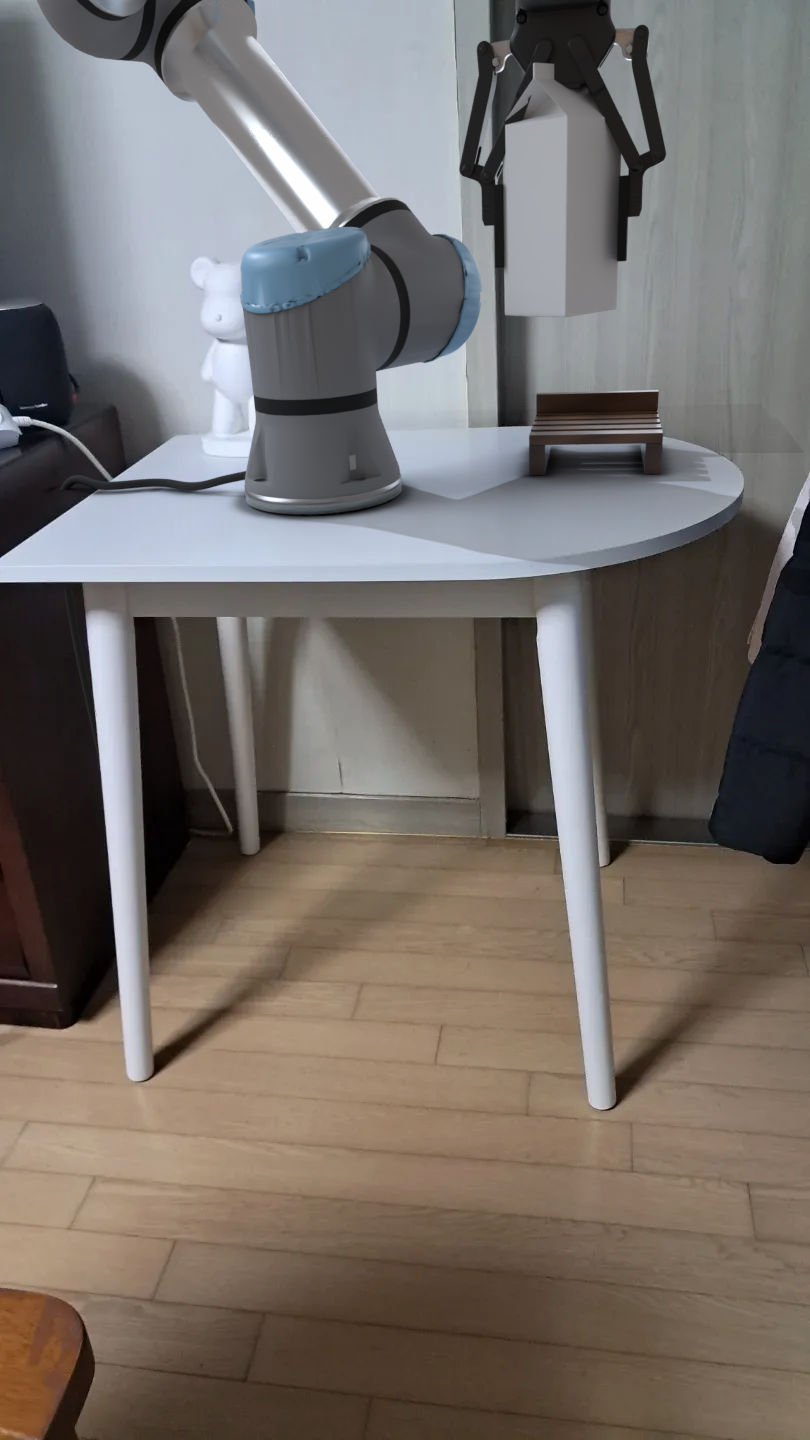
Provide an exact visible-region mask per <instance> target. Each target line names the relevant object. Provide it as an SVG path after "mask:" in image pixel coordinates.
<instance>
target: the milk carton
mask: <svg viewBox="0 0 810 1440" xmlns="http://www.w3.org/2000/svg"><path fill="white" fill-rule="evenodd" d="M530 96H531V98H530V101H529V104H528V107H527V110H526V113H525V116H524V119H523V120H521V121H519V122H515V123H511V124H507V125H505V146H506V154H505V156H504V159H503V169H502V184H503V215H504V268H503V279H504V280H503V282H504V285H503V288H504V315H505V316H509V317H513V316H514V317H531V318H532V317H533V318H534V317H536V318H571V317H577V316H582V315H589V314H594V313H601V312H608V311H613V310H616V309H617V300H618V299H617V298H618V292H617V291H618V267H619V266H618V265H619V262H617V240H618V206H619V176H621V173H622V171H621V169H622V154H621V152H620V150H619V148H618V146H617V144H616V142H615V140H614V138H613V136H612V134H611V132H610V130H609V128H608V126H607V124H606V122H605V118H604V117H603V116H602V114H601V112H600V110H599V108H598V106H597V104H596V102H595V100H594V98H593V96H592V94H591V92H590V90H589V88H588V86H587V87H585V88H583V89H582V90H580V89H569V88H566V87H564V86H563V85H562V84H560V83H558V82H557V81H555V80H554V64H548V63H533V79H532V81H531V82H530V84H529V85H528V87H527V88H526V90H525V91H524V93H523V94H522V96H521V97H520V99H519V100H518V102H517V103H516V105H515V106H514V108H513V110H512V111H511V113H510V114H509V116H508V117H507V116H506V117H507V119H508V118H510V117H511V116H512V115H514V114H515V113H516V112H517V111H519V110H520V109H521V108H522V107H524V106H525V105H526V104H527V103H528V98H529V97H530ZM620 116H621V118H622V119H623V116H622V114H620ZM505 119H506V118H505ZM505 119H504V121H506V120H507V119H506V120H505Z"/></svg>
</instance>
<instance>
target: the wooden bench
mask: <svg viewBox="0 0 810 1440" xmlns="http://www.w3.org/2000/svg"><path fill="white" fill-rule="evenodd" d="M659 394H660V390H659V389H644V390H643V389H641V390H639V389H637V390H604V391H601V390H600V391H565V392H564V391H563V392H536V395H535V397H536V399H535V400H536V401H535V417H534V419H533V422H532V426H531V429H530V432H529V435H528V476H545V475H546V472H547V467H548V463H549V458H550V453H551V449H552V446H571V445H573V446H574V445H575V446H576V445H581V446H582V445H634V444H635V445H637V444H639V445H640V452H641V460H642V467H643V474H644V475H661V473H662V463H663V461H662V459H663V442H664V432H663V428H662V424H661V419H660V415H659V411H658V410H659V397H660V396H659Z"/></svg>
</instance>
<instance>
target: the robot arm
mask: <svg viewBox="0 0 810 1440" xmlns="http://www.w3.org/2000/svg"><path fill="white" fill-rule="evenodd" d="M36 3H37V5H38V7H39V9H40V11H41V14H42V15H43V17H44V18H45V19H46V21H47V22H48V24H49V26H50V27H51V29H53V30H54V32H55V33H56V34H57V35H59V37H60V39H62V40H63V41H64V42H66V43H67V44H69V45H70V46H71V47H73V48H74V49H75V50H77V51H79V52H81V53H83V54H86V55H88V56H91V57H94V58H98V59H102V60H103V59H104V60H111V61H112V60H113V61H123V62H124V61H125V62H138V63H144V64H146V65H148V66H149V67H150V68H152V70H153V71H154V72H155V73H156V75H157V76H158V77H159V79H160V80H161V81H162V82H163V84H164V85H165V87H166V88H167V90H169V92H170V93H171V94H172V95H173V96H175V97H176V98H178V99H179V100H181V101H184V102H189V103H196V104H198V105H199V107H200V108H201V109H202V111H203V112H204V113H205V115H206V116H207V117H208V119H209V120H210V121H211V122H212V123H213V125H214V126H215V128H216V129H217V130H218V132H219V133H220V134H221V135H222V136H223V138H224V139H225V140H226V142H227V143H228V144H229V146H230V147H231V148H232V149H233V151H234V152H235V153H236V155H237V156H238V157H239V159H240V160H241V161H242V163H243V164H244V165H245V166H246V168H247V169H248V170H249V172H250V173H251V174H252V176H253V177H254V178H255V179H256V181H257V182H258V183H259V185H260V186H261V187H262V189H263V190H264V191H265V192H266V194H267V195H268V196H269V197H270V199H271V200H272V202H273V203H274V204H275V205H276V207H277V208H278V209H279V210H280V212H281V213H282V214H283V216H284V217H285V218H286V220H287V221H288V223H290V225H291V226H292V228H293V229H294V230H295V232H294V233H289V234H284V235H280V236H276V237H273V238H269V239H266V240H263V241H259V242H258V243H254V244H253V245H251V246H250V247H248V248H247V249H246V251H245V252H244V254H242V257H241V261H240V266H239V267H240V268H239V269H240V282H241V292H240V305H241V308H242V312H243V321H244V328H245V335H246V336H245V337H246V344H247V353H248V361H249V367H250V378H251V386H252V387H251V388H252V395H253V404H254V413H255V423H254V428H253V433H252V437H251V438H252V439H251V444H250V450H249V454H248V460H247V463H246V470H243V471H239V472H235V473H229V474H225V475H220V476H217V477H214V478H210V479H206V480H202V481H183V480H177V479H172V478H141V479H140V478H139V479H130V480H129V479H128V480H116V481H103V480H97V479H94V478H90V477H88V476H86V475H81V474H75V475H71V476H69V477H67V479H66V480H65V481H64V482H63V483H62V485H61V487H60V488H59V489H60V491H67V490H70V489H71V488H72V487H73V486H74V485H77V484H79V485H83V486H87V487H88V488H93V489H96V490H101V491H117V490H130V489H140V488H141V489H142V488H168V489H169V488H170V489H176V490H181V491H187V492H188V491H189V492H191V491H203V490H208V489H212V488H215V487H218V486H223V485H226V484H232V483H236V482H241V481H244V492H245V493H244V494H245V501H246V503H247V505H249V506H251V507H252V508H254V509H257V510H259V511H262V512H267V513H275V514H285V515H323V514H336V513H345V512H351V511H356V510H361V509H366V508H370V507H371V508H372V507H374V506H378V505H381V504H384V503H387V502H390V501H391V500H393V499H395V498H396V497H397V496H399V495H400V494H401V493H402V489H403V488H402V487H403V485H402V473H401V469H400V465H399V462H398V460H397V457H396V454H395V452H394V448H393V447H392V442H391V441H390V439H389V436H388V433H387V430H386V428H385V425H384V423H383V419H382V417H381V414H380V410H379V401H378V381H377V372H379V371H385V370H390V369H395V368H399V367H404V366H408V365H414V364H417V363H418V364H419V363H423V364H428V363H432V362H434V361H436V360H438V359H439V358H442V357H445V356H448V355H450V354H452V353H454V352H456V351H457V350H459V349H461V347H463V346H464V344H465V343H466V342H467V341H468V339H469V338H470V337H471V335H472V333H473V332H474V330H475V328H476V325H477V322H478V320H479V317H480V314H481V313H480V312H481V308H482V302H481V292H483V291H482V290H483V286H482V279H481V274H480V270H479V266H478V263H477V261H476V260H475V259H476V258H475V257H474V255H473V254H472V252H471V250H470V249H469V248H468V247H467V246H466V245H465V244H464V243H463V242H462V241H461V240H459V239H457V238H455V237H453V236H450V235H448V234H446V233H433V234H431V233H430V232H429V231H428V230H427V229H426V227H425V226H424V225H423V223H422V222H421V221H420V220H419V218H418V217H417V216H416V215H415V214H414V212H413V211H412V210H411V209H410V208H409V206H408V205H407V204H406V202H404V201H403V200H402V199H400V198H398V197H390V196H389V197H380V195H379V194H378V193H377V191H376V190H375V189H374V188H373V186H372V185H371V184H370V182H369V181H368V180H367V179H366V177H365V176H364V175H363V174H362V172H361V171H360V170H359V168H358V167H357V165H356V164H355V163H354V162H353V161H352V159H351V158H350V157H349V156H348V155H347V153H346V152H345V150H343V148H342V147H341V145H339V143H338V142H337V141H336V139H335V138H334V137H333V135H332V134H331V133H330V132H329V130H328V129H327V128H326V127H325V125H324V124H323V122H322V121H321V120H320V119H319V118H318V117H317V115H316V114H315V113H314V111H313V110H312V109H311V107H310V106H309V105H308V104H307V102H306V101H304V100H305V99H303V97H302V96H301V94H300V93H299V92H298V91H297V89H295V88H294V86H293V85H292V83H291V82H290V81H289V79H287V77H286V76H285V75H284V73H283V72H282V71H281V69H280V68H279V67H278V65H277V64H275V62H274V61H273V59H272V58H271V57H270V56H269V54H268V53H267V52H266V51H265V49H264V48H263V47H262V45H261V44H260V42H258V41H257V38H258V24H257V19H256V7H255V6H256V4H255V1H254V0H36ZM611 8H612V0H515V22H514V23H515V24H514V27H513V30H512V34H511V35H510V38H509V39H503V40H499V41H494V42H490V41H488V40H482V41H480V42H479V43H478V44H477V46H476V57H477V58H476V59H477V70H478V71H477V72H478V77H477V81H476V86H475V91H474V95H473V100H472V101H473V102H472V105H471V110H470V114H469V119H468V124H467V130H466V133H465V139H464V144H463V147H462V148H463V149H462V153H461V158H460V163H459V174H460V175H461V177H464V178H467V179H470V180H473V181H476V182H477V183H478V184H479V186H480V189H481V220H482V224H483V226H484V227H489V226H492V227H493V226H494V229H493V230H494V268H495V269H504V215H503V183H500V184H499V183H498V182H499V178H500V175H501V174H502V172H503V159H504V156H505V154H506V146H505V125H507V124H511V123H515V122H519V121H521V120H523V119H524V116H525V113H526V110H527V107H528V104H529V101H530V98H531V96H530V97H529V98H528V103H527V104H526V105H525V106H524V107H522V108H521V109H520V110H519V111H517V112H516V113H515V114H514V115H512V116H511V117H510V118H508V119H507V117H508V116H509V114H510V113H511V111H512V110H513V108H514V106H515V105H516V103H517V102H518V100H519V99H520V97H521V96H522V94H523V93H524V91H525V90H526V88H527V87H528V85H529V84H530V82H531V81H532V79H533V63H548V64H554V80H555V81H557V82H558V83H560V84H562V85H563V86H564V87H566V88H569V89H580V90H582V89H583V88H585V87H587V86H588V88H589V90H590V92H591V94H592V96H593V98H594V100H595V102H596V104H597V106H598V108H599V110H600V112H601V114H602V116H603V117H604V118H605V122H606V124H607V126H608V128H609V130H610V132H611V134H612V136H613V138H614V140H615V142H616V144H617V146H618V148H619V150H620V152H621V157H622V159H623V160H624V163H625V164H626V167H627V168H628V171H627V175H620V176H619V206H618V240H617V262H618V263H619V262H626V261H627V260H628V233H629V218H637V217H640V216H641V214H642V212H643V198H644V197H643V196H644V195H643V194H644V176H645V174H646V172H647V171H648V170H650V169H652V168H654V167H656V166H659V165H660V164H662V163H664V162H665V160H666V158H667V150H666V145H665V141H664V135H663V132H662V127H661V121H660V116H659V111H658V107H657V102H656V97H655V92H654V89H653V84H652V79H651V74H650V69H649V64H648V56H649V55H648V54H649V46H650V30H649V28H648V26H647V25H646V24H639V25H638V26H636V27H631V28H629V27H628V28H625V27H621V28H616V25H615V23H614V22H613V20H612V14H611V13H612V12H611V11H612V9H611ZM614 46H618V47H619V48H620V49H621V53H622V57H623V58H624V60H626V61H631V69H632V75H633V79H634V83H635V88H636V92H637V98H638V102H639V107H640V112H641V116H642V121H643V126H644V130H645V135H646V141H647V144H648V149H649V150H648V151H646V152H644V153H641V154H640V153H639V150H638V149H637V147H636V145H635V143H634V141H633V138H632V137H631V135H630V133H629V130H628V128H627V126H626V124H625V122H624V120H623V117H622V118H621V116H622V115H621V114H620V111H619V110H618V108H617V105H616V104H615V101H614V99H613V98H612V95H611V92H610V91H609V89H608V87H607V85H606V83H605V81H604V79H603V77H602V75H601V73H600V69H601V68H602V66H603V64H604V63H605V61H606V60H607V58H608V56H609V55H610V53H611V52H612V49H613V48H614ZM510 56H513V59H514V60H515V61H516V63H517V64H518V67H520V69H521V70H522V72H523V73H524V75H523V77H522V79H521V81H520V84H519V86H518V89H517V90H516V94H515V97H514V99H513V101H512V103H511V106H510V108H509V110H508V112H507V114H506V117H505V119H504V120H503V123H502V126H501V128H500V130H499V133H498V134H497V136H496V139H495V141H494V144H493V145H492V148H491V150H490V152H489V155H488V156H487V159H486V161H485V163H484V165H483V164H480V161H481V158H482V152H483V148H484V143H485V140H486V139H485V138H486V134H487V130H488V124H489V120H490V115H491V110H492V105H493V101H494V97H495V91H496V87H497V83H498V81H497V80H498V73H501V72H503V70H504V69H505V67H506V61H507V59H508V58H509V57H510ZM620 115H621V116H620ZM506 119H507V120H506ZM505 120H506V121H505ZM63 591H64V597H65V603H66V604H65V605H66V611H67V618H68V623H69V629H70V634H71V639H72V644H73V650H74V654H75V660H76V665H77V669H78V673H79V678H80V682H81V687H82V692H83V697H84V701H85V705H86V710H87V714H88V719H89V723H90V728H91V733H92V736H93V741H94V745H95V750H96V754H97V758H98V760H99V753H98V744H97V733H96V723H95V713H94V707H95V703H94V699H93V694H92V689H91V686H90V681H89V676H88V671H87V666H86V661H85V656H84V651H83V646H82V641H81V636H80V631H79V624H78V618H77V613H76V607H75V600H74V593H73V588H63ZM93 703H94V704H93Z"/></svg>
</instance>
